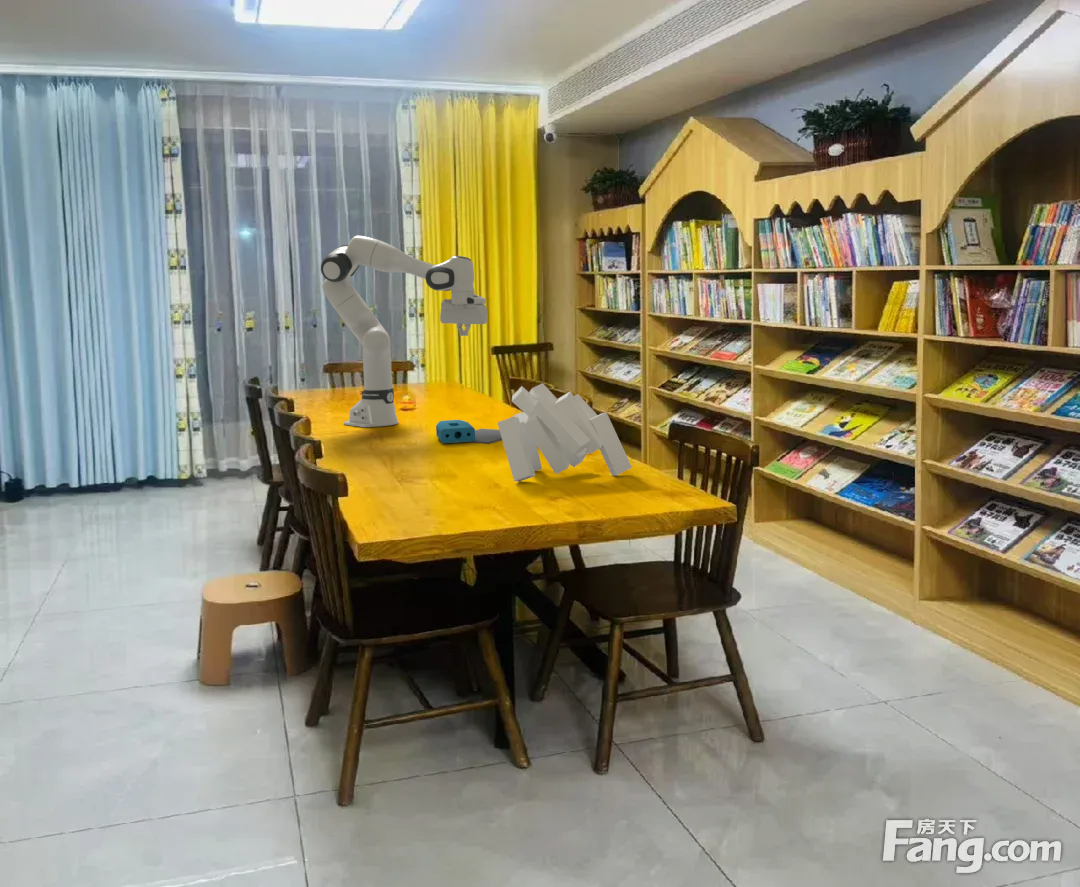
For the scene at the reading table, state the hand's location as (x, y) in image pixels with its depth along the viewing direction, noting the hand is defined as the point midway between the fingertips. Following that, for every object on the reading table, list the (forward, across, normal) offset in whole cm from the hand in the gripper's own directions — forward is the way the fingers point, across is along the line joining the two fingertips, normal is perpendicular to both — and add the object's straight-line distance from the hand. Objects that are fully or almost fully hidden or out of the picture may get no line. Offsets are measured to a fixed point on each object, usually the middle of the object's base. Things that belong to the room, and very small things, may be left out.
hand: (463, 335), depth 398 cm
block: (+32, +7, -18) cm, 38 cm away
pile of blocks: (+35, +83, -66) cm, 112 cm away
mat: (+35, +21, -16) cm, 44 cm away
